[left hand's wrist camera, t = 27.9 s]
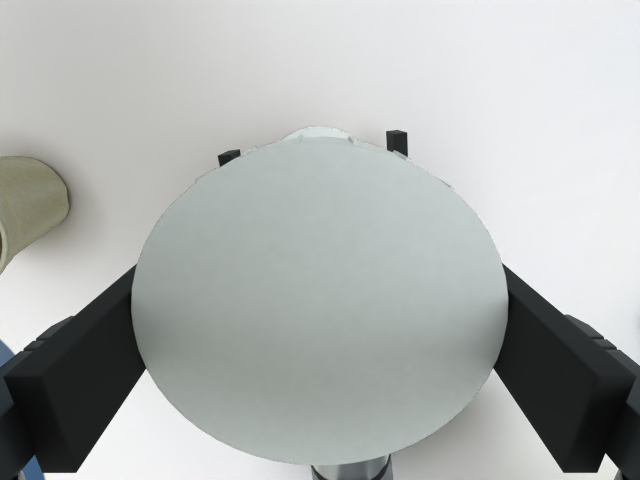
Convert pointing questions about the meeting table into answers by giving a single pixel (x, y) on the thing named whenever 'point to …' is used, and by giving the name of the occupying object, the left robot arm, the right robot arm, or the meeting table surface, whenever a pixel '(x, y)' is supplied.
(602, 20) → the meeting table surface
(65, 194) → the flower pot
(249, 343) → the lid
